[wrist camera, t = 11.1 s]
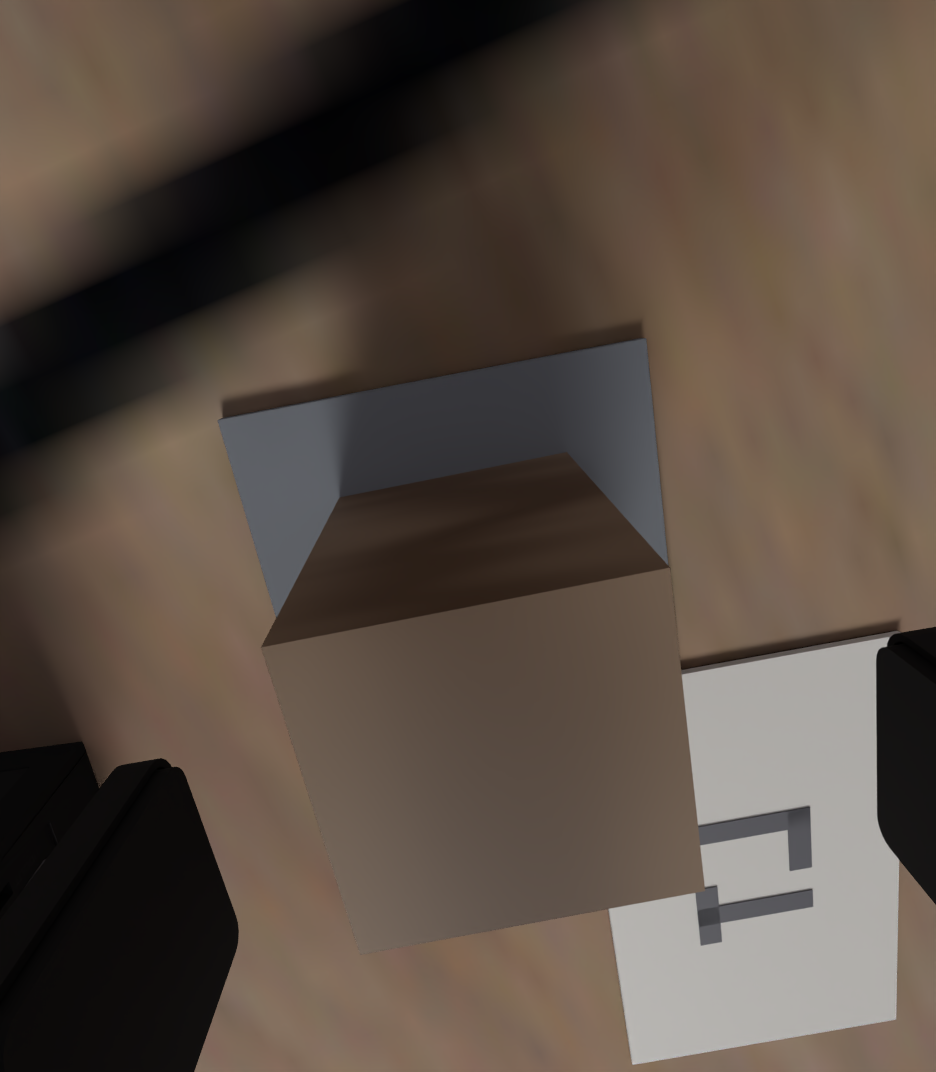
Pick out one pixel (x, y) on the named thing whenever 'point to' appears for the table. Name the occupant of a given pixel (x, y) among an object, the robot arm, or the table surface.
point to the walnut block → (488, 705)
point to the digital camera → (38, 808)
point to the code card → (772, 864)
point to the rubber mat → (446, 444)
